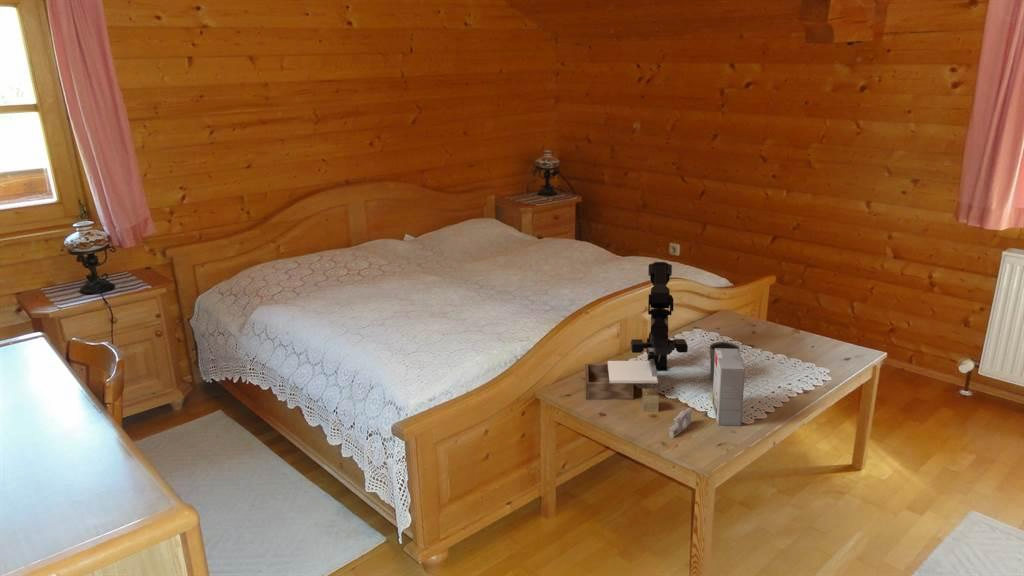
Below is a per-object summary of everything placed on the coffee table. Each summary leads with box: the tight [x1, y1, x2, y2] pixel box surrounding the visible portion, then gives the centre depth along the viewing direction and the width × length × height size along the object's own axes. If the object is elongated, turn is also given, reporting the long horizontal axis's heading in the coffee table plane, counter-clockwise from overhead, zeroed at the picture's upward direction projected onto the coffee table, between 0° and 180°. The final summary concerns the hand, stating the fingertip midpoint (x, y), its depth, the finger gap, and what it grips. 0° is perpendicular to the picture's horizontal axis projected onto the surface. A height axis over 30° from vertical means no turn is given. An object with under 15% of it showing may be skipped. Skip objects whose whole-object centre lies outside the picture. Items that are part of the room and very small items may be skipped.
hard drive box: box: [712, 348, 746, 427], centre depth 227 cm, size 16×8×20 cm, turn 171°
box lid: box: [607, 359, 659, 384], centre depth 247 cm, size 16×16×3 cm
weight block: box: [641, 388, 660, 413], centre depth 235 cm, size 5×5×6 cm
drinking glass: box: [709, 341, 740, 381], centre depth 253 cm, size 10×10×12 cm
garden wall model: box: [668, 407, 693, 438], centre depth 221 cm, size 12×2×6 cm, turn 139°
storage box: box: [584, 363, 635, 401], centre depth 249 cm, size 16×16×6 cm
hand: (658, 368), depth 246 cm, fingers closed
